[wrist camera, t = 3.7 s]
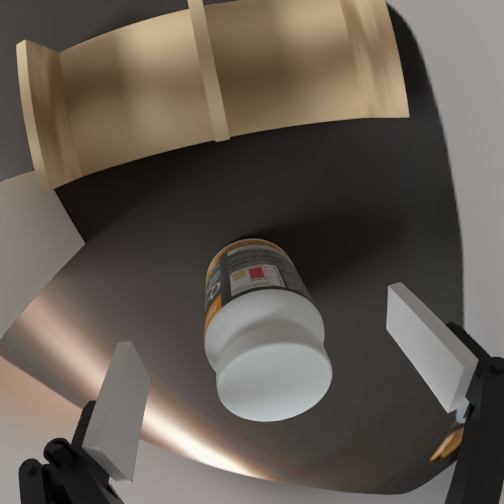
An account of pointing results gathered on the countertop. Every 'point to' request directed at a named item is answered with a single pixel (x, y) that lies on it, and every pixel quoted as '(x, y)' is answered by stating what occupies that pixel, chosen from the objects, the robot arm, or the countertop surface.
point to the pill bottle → (263, 333)
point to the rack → (206, 80)
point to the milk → (30, 243)
